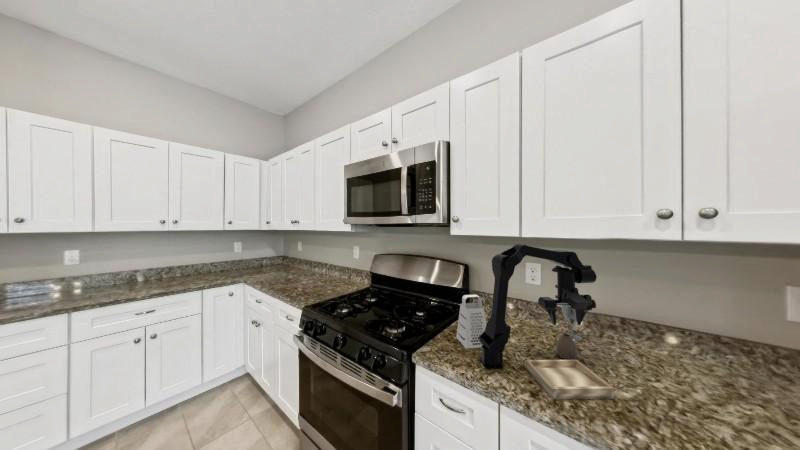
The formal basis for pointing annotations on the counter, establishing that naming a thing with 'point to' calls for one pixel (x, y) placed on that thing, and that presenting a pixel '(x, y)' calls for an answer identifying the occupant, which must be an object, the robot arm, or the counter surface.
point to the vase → (566, 347)
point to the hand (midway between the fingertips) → (566, 325)
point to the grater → (470, 322)
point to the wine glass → (570, 319)
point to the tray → (569, 380)
